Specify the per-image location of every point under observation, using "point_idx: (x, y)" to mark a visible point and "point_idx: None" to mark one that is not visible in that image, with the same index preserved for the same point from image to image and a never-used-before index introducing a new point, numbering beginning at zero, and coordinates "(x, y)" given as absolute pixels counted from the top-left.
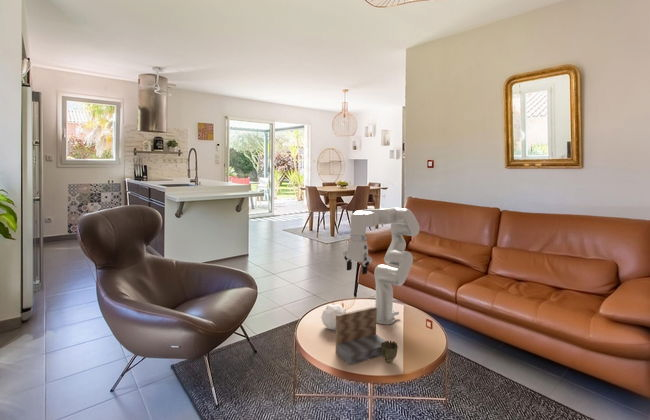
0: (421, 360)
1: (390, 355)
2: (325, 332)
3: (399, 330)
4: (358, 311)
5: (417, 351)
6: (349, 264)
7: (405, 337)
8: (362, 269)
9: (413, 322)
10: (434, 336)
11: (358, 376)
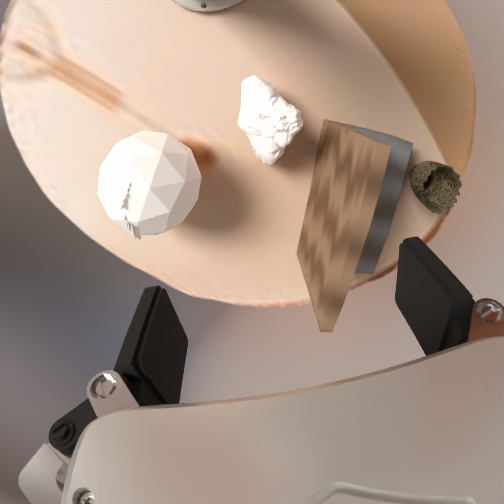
0: (460, 110)
1: (441, 195)
2: None
3: None
4: (361, 248)
5: (434, 74)
6: (169, 379)
7: (363, 20)
8: (422, 340)
9: None
10: None
11: None
